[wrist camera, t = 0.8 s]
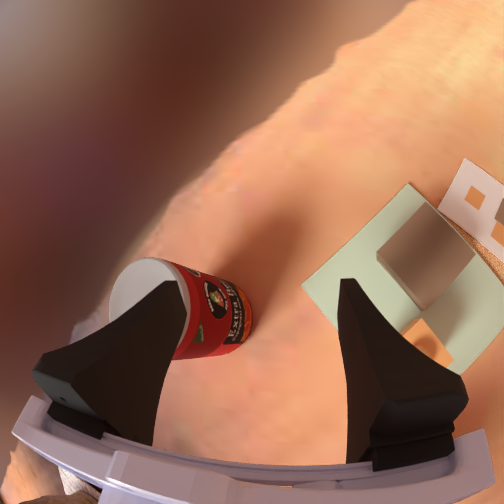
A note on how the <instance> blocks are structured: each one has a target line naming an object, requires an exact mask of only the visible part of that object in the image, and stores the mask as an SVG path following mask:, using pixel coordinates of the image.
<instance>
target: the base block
mask: <svg viewBox="0 0 504 504" xmlns="http://www.w3.org/2000/svg"><path fill="white" fill-rule="evenodd" d="M475 255H476V254H475V252H474V251H473V250H472V249H471V248H470V247H469V246H468V245H467V243H466V242H465V241H464V240H463V239H462V238H461V237H460V236H459V235H458V234H457V232H456V231H455V230H454V229H453V228H452V227H451V226H450V225H449V224H448V223H447V222H446V221H445V220H444V219H443V218H442V217H441V216H440V215H439V214H438V213H437V212H436V211H435V210H434V209H433V208H432V207H431V206H430V205H429V204H428V203H427V202H426V201H425V202H424V203H423V205H422V206H421V207H420V208H419V209H418V210H417V211H416V212H415V213H414V214H413V215H412V216H411V217H410V218H409V219H408V220H407V221H406V222H405V224H404V225H403V226H402V227H401V228H400V229H399V230H398V231H397V232H396V233H395V234H394V235H393V236H392V237H391V238H390V239H389V240H388V241H387V242H386V243H385V244H384V245H383V246H382V247H381V248H380V249H379V250H378V251H377V252H376V258H377V261H378V262H379V263H380V265H381V266H382V267H383V268H384V269H385V270H386V271H387V272H388V273H389V275H390V276H391V277H392V278H393V279H394V280H395V281H396V282H397V284H398V285H399V286H400V287H401V288H402V289H403V290H404V292H405V293H406V294H407V295H408V296H409V297H410V299H411V300H412V301H413V302H414V303H415V305H416V306H417V307H418V308H419V309H420V311H424V310H426V309H428V308H429V307H430V306H431V305H432V304H433V303H434V302H435V301H436V299H437V298H438V297H439V296H440V295H441V294H442V293H443V292H444V291H445V290H446V289H447V288H448V287H449V285H450V284H451V283H452V282H453V281H454V280H455V279H456V278H457V276H458V275H459V274H460V273H461V272H462V271H463V269H464V268H465V267H466V266H467V265H468V263H469V262H470V261H471V260H472V258H473V257H474V256H475Z"/></svg>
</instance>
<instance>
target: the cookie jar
mask: <svg viewBox="0 0 504 504" xmlns="http://www.w3.org/2000/svg"><path fill="white" fill-rule="evenodd" d="M58 468H59V471H60V475H61V479H62V482H63V485H64V490H65V493H66V495H65V494H59V495H47V496H42V497H40V498H37V499H34V500H31V501H24V502H21V503H19V504H98V502H99V499H100V496H101V493H100V492H98V491H97V490H96V489H94V488H93V487H92V486H91V485H90V484H89V483H87V482H86V481H85V480H83V479H81V478H79V477H78V476H76V475H74V474H72V473H70V472H68V471H67V470H65V469H63V468H61V467H59V466H58ZM0 504H1V503H0Z"/></svg>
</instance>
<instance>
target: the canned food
mask: <svg viewBox="0 0 504 504" xmlns="http://www.w3.org/2000/svg"><path fill="white" fill-rule="evenodd" d="M165 280H177V282H178V286H179V289H180V292H181V295H182V298H183V301H184V304H185V308H186V311H187V318H186V322H185V326H184V330H183V333H182V336H181V338H180V341H179V343H178V346H177V348H176V350H175V353H174V355H173V358H172V360H182V359H192V358H202V357H210V356H219V355H224V354H227V353H230V352H232V351H234V350H235V349H236V348H238V347H239V346H240V345H241V344H242V343H243V342H244V341H245V339H246V338H247V336H248V334H249V332H250V330H251V326H252V319H253V315H252V308H251V305H250V302H249V301H248V299H247V297H246V296H245V294H244V293H243V292H242V291H241V289H240V288H238V287H237V286H236V285H234V284H232V283H230V282H228V281H225V280H222V279H219V278H216V277H213V276H210V275H208V274H205V273H202V272H199V271H196V270H193V269H190V268H187V267H185V266H182V265H179V264H176V263H173V262H169V261H167V260H163V259H159V258H154V257H144V258H141V259H137V260H136V261H134V262H132V263H131V264H129V265H128V266H127V267H126V268H125V269H124V270H123V271H122V273H121V274H120V275H119V277H118V279H117V281H116V282H115V285H114V287H113V290H112V294H111V298H110V305H109V319H110V323H111V322H112V321H114V320H115V319H117V318H118V317H119V316H121V315H122V314H123V313H125V312H126V311H127V310H129V309H130V308H131V307H132V306H134V305H135V304H136V303H137V302H139V301H140V300H141V299H142V298H143V297H145V296H146V295H147V294H148V293H150V292H151V291H152V290H153V289H154V288H156V287H157V286H158V285H159V284H161V283H162V282H164V281H165Z"/></svg>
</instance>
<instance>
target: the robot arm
mask: <svg viewBox="0 0 504 504" xmlns="http://www.w3.org/2000/svg"><path fill="white" fill-rule="evenodd" d="M186 318H187V311H186V308H185V304H184V301H183V298H182V295H181V292H180V289H179V286H178V282H177V280H165V281H164V282H162V283H161V284H159V285H158V286H157V287H156V288H154V289H153V290H152V291H151V292H150V293H148V294H147V295H146V296H145V297H143V298H142V299H141V300H140V301H139V302H137V303H136V304H135V305H134V306H132V307H131V308H130V309H129V310H127V311H126V312H125V313H123V314H122V315H121V316H119V317H118V318H117V319H115V320H114V321H112V322H111V323H109V324H108V325H106V326H105V327H103V328H102V329H100V330H98V331H96V332H95V333H93V334H91V335H89V336H87V337H85V338H83V339H81V340H79V341H77V342H75V343H73V344H70V345H68V346H66V347H63V348H60V349H57V350H54V351H51V352H48V353H44V354H43V355H42V357H41V358H40V360H39V361H38V363H37V364H36V366H35V367H34V369H33V370H32V376H33V379H34V380H35V382H36V383H37V384H38V385H39V387H41V389H42V390H43V391H44V392H45V393H46V394H47V395H48V396H49V397H50V398H51V399H52V400H53V402H52V404H51V405H49V404H48V403H47V402H45V401H43V400H41V399H39V398H37V397H35V396H31V397H30V399H29V400H28V402H27V404H26V406H25V407H24V409H23V411H22V413H21V415H20V416H19V418H18V420H17V422H16V424H15V426H14V428H13V430H12V434H14V435H15V436H16V437H17V438H19V439H20V440H21V441H22V442H24V443H25V444H26V445H28V446H29V447H30V448H32V449H33V450H34V451H36V452H37V453H39V454H40V455H41V456H43V457H45V458H46V459H48V460H49V461H51V462H53V463H54V464H56V465H58V466H59V467H61V468H63V469H65V470H67V471H68V472H70V473H72V474H74V475H76V476H78V477H79V478H81V479H83V480H85V481H87V482H89V483H91V484H93V485H95V486H98V487H100V488H102V489H103V490H102V493H101V496H100V499H99V502H98V504H453V503H456V502H459V501H461V500H464V499H466V498H468V497H470V496H472V495H474V494H476V493H478V492H480V491H482V490H484V489H486V488H488V487H490V486H491V485H493V484H494V483H495V482H496V481H495V475H494V469H493V464H492V459H491V454H490V449H489V445H488V441H487V436H486V433H485V429H484V428H482V429H479V430H476V431H473V432H470V433H467V434H464V435H461V436H459V437H457V438H455V439H453V437H452V432H454V429H455V428H454V424H453V421H454V420H455V419H456V418H457V417H458V415H459V414H460V413H461V412H462V411H463V410H464V408H465V407H466V405H467V403H468V400H469V398H468V395H467V392H466V388H465V385H464V383H463V381H462V378H461V376H460V375H458V374H457V373H455V372H453V371H451V370H449V369H447V368H446V367H444V366H442V365H440V364H439V363H437V362H436V361H434V360H433V359H431V358H429V357H428V356H427V355H425V354H424V353H422V352H421V351H420V350H419V349H417V348H416V347H415V346H414V345H412V344H411V343H410V342H409V341H408V340H406V339H405V338H404V337H403V336H402V335H401V334H400V333H399V332H398V331H397V330H396V329H395V328H394V327H393V326H392V325H391V324H390V323H389V322H388V321H387V319H386V318H385V317H384V316H383V315H382V314H381V312H380V311H379V310H378V309H377V307H376V306H375V305H374V304H373V302H372V301H371V300H370V299H369V297H368V296H367V294H366V293H365V292H364V290H363V289H362V287H361V286H360V284H359V283H358V282H357V280H356V279H355V278H341V279H340V289H339V300H338V310H337V321H338V335H339V341H340V346H341V352H342V357H343V363H344V369H345V375H346V383H347V405H348V431H347V455H346V464H337V465H315V466H285V465H263V464H249V463H239V462H230V461H222V460H215V459H209V458H202V457H197V456H191V455H186V454H181V453H176V452H172V451H167V450H163V449H159V448H155V447H152V443H153V434H154V426H155V420H156V414H157V408H158V404H159V399H160V394H161V390H162V387H163V383H164V379H165V376H166V373H167V370H168V368H169V365H170V363H171V360H172V358H173V355H174V353H175V350H176V348H177V346H178V343H179V341H180V338H181V336H182V333H183V330H184V326H185V322H186ZM272 485H275V486H272ZM281 486H292V487H281Z"/></svg>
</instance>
